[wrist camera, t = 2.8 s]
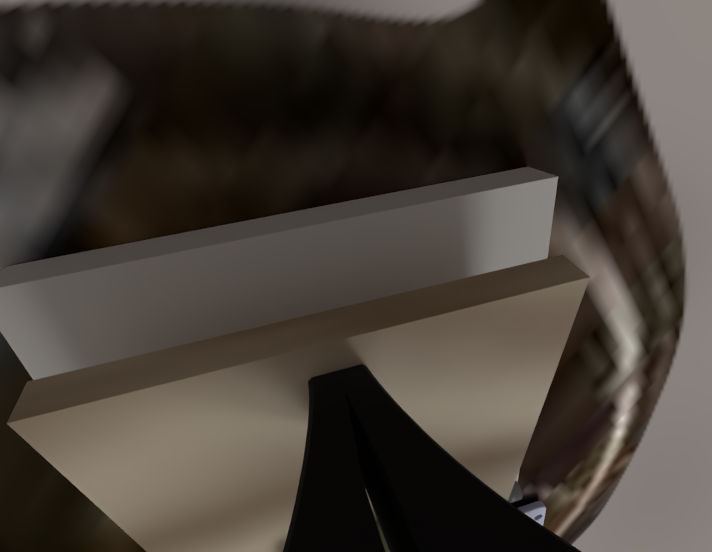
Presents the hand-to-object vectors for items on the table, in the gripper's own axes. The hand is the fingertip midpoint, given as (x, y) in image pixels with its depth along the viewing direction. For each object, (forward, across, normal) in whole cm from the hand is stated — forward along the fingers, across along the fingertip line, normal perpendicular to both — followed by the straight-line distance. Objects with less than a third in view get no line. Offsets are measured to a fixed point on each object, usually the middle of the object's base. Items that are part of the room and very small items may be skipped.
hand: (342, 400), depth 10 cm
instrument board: (+2, 0, +5) cm, 5 cm away
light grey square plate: (+5, 0, +5) cm, 7 cm away
